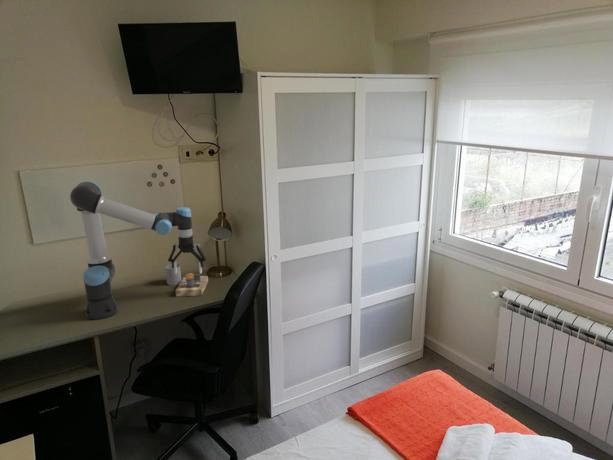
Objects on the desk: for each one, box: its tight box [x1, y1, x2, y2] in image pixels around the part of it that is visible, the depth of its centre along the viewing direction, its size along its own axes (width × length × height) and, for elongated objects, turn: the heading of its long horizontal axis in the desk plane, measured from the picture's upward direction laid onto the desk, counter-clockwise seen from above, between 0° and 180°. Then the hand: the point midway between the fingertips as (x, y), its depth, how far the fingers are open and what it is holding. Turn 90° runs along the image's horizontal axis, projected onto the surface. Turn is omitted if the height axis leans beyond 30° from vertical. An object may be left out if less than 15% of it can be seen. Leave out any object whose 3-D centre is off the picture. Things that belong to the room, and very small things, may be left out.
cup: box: [164, 263, 182, 286], centre depth 267 cm, size 8×8×10 cm
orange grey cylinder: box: [184, 272, 195, 288], centre depth 253 cm, size 5×5×10 cm
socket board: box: [175, 275, 209, 297], centre depth 258 cm, size 14×20×4 cm
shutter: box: [181, 273, 205, 283], centre depth 260 cm, size 12×7×3 cm, turn 92°
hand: (188, 273), depth 251 cm, fingers open, 13 cm apart
